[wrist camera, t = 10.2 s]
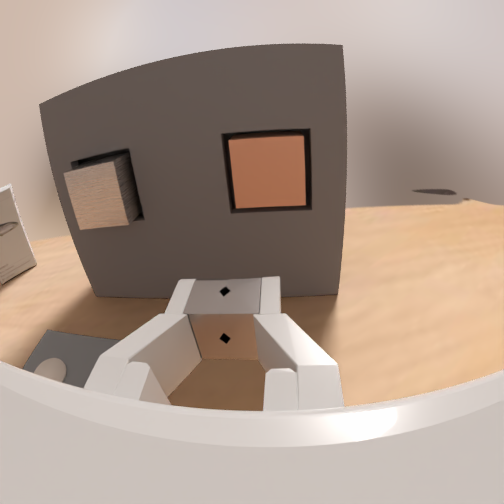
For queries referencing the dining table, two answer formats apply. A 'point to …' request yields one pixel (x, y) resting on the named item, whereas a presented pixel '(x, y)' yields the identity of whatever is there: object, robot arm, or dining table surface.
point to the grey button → (104, 192)
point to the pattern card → (67, 356)
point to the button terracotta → (268, 169)
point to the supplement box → (12, 238)
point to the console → (208, 168)
